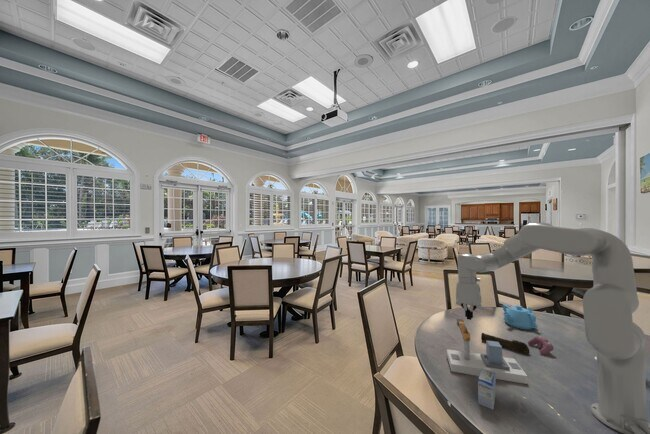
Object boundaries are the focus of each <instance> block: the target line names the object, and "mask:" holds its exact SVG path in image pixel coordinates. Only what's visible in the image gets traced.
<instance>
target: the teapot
mask: <svg viewBox="0 0 650 434" xmlns="http://www.w3.org/2000/svg"><path fill="white" fill-rule="evenodd" d="M502 310H503V315H504V316H503V320H504V322H505V323H506V324H509V326H510V325H511V326H510V327H512V328H515V327H516V328H515V329H519V328H520V330H532V329H538V325H537V323H536V321H537V316H536V315H535V314H534V313H532V312H533V308H531V307H527V308H524V307H523V306H522V305H518V304H517V305H515V306H509V305H507V304H502Z"/></svg>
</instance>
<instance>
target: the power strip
mask: <svg viewBox="0 0 650 434" xmlns="http://www.w3.org/2000/svg"><path fill="white" fill-rule="evenodd" d="M446 357H447V360H448V364H449V368H450V372H454V373H460V374H466V375H471V376H477V377H479V374H480V371H481V368H483V369H486V370H489V371H492V372H494V373H495V374H496V380H502V381H506V382H507V381H508V382H514V383H519V384H526V385H528V384H529V383H528V382H529V381H528V380H529V379H528V375H527V373H526V372H525V371H524V369H523V368H522V366H520V364H519V363H518V361H516V359H515V358H511V357H505V356H502V362H503V365H498V364H492V363H488V361H487V357H486V353H475V352H470V341H466V340H464V339H463V351H460V350H454V349H446Z"/></svg>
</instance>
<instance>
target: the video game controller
mask: <svg viewBox="0 0 650 434" xmlns="http://www.w3.org/2000/svg"><path fill="white" fill-rule="evenodd" d="M527 344H528V345H529V346H535V345H536V347H537V348H538V349H540V350H539V354H540V355H542V356H545V355H548V354H549V353H551V352H553V350H554V349H555V348H554V345H553V343H551V342H550V340H548V339H547V338H545V337H543V336H539V335H536V336H534V337H533V338H532V339H529V340H528V341H527ZM528 345H527V346H528Z"/></svg>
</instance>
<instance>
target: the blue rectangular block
mask: <svg viewBox="0 0 650 434" xmlns="http://www.w3.org/2000/svg"><path fill="white" fill-rule="evenodd" d="M485 348H486V349H485V350H486V351H485V352H486V353H485V354H486V357H487V361H488V363H492V364H498V365H503V362H502V357H503V346H501V345H500V344H499V342H495V341H487V340H486V342H485Z"/></svg>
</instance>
